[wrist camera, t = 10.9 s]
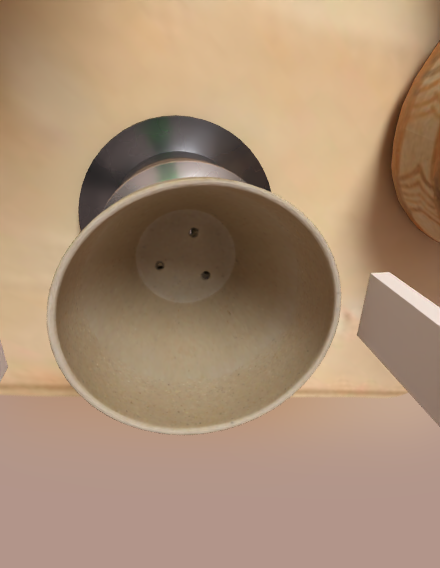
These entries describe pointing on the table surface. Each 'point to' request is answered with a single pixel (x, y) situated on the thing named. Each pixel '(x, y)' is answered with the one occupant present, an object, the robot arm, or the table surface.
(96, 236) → the flower pot
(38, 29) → the table surface
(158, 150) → the grey top hat
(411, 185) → the ceramic vessel
